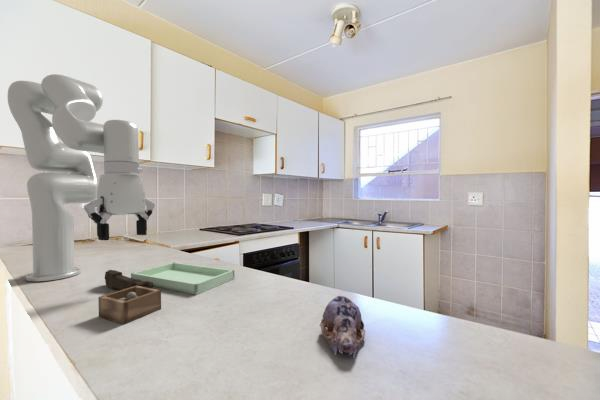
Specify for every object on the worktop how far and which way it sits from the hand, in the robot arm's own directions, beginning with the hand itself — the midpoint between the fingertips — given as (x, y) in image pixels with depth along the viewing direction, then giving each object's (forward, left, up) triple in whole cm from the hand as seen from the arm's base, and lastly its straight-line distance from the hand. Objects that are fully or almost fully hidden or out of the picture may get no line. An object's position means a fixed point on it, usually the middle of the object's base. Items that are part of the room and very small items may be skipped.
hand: (123, 237), depth 71 cm
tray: (+6, +13, -14) cm, 20 cm away
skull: (+58, -1, -14) cm, 59 cm away
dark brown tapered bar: (0, 0, -14) cm, 14 cm away
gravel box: (+14, -8, -14) cm, 22 cm away
